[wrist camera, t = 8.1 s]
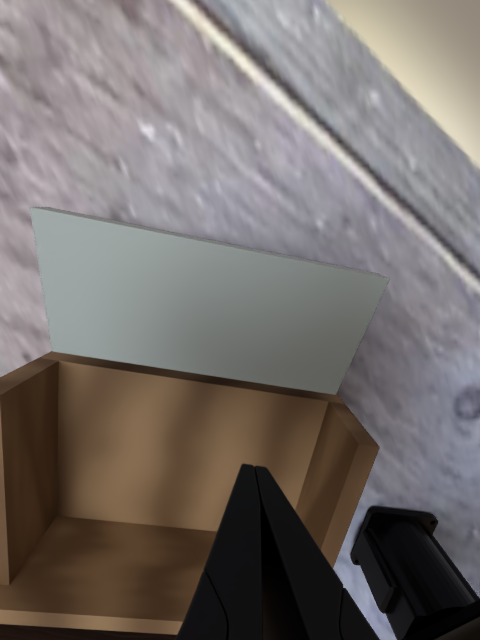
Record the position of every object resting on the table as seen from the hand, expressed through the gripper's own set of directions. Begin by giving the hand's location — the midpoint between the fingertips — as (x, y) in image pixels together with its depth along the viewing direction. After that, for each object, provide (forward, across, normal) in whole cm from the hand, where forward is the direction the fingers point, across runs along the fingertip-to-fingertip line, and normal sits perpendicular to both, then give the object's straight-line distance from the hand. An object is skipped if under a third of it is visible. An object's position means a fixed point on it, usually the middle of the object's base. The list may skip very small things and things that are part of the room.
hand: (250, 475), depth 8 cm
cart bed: (+10, +2, +8) cm, 14 cm away
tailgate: (+8, +3, 0) cm, 9 cm away
